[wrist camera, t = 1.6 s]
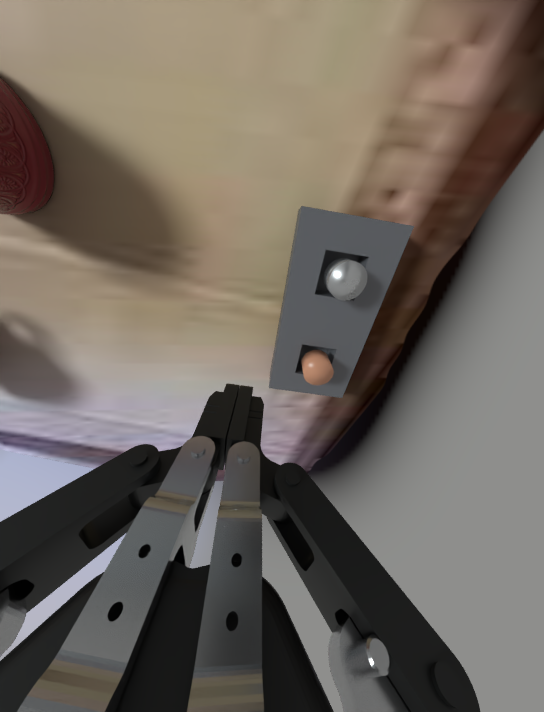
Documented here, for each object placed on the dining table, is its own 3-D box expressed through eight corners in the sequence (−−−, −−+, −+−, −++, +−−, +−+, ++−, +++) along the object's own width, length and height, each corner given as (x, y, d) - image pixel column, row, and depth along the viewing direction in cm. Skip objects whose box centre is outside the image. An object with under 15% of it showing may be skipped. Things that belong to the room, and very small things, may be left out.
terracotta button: (304, 347, 30) (307, 358, 27) (332, 351, 30) (337, 363, 27) (298, 370, 32) (300, 383, 29) (324, 374, 32) (328, 387, 29)
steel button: (328, 255, 24) (335, 258, 21) (363, 261, 24) (373, 264, 21) (319, 291, 26) (324, 297, 23) (351, 296, 26) (359, 303, 23)
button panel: (298, 209, 25) (301, 206, 21) (395, 227, 25) (414, 226, 22) (270, 373, 37) (269, 387, 34) (336, 382, 38) (342, 397, 34)
